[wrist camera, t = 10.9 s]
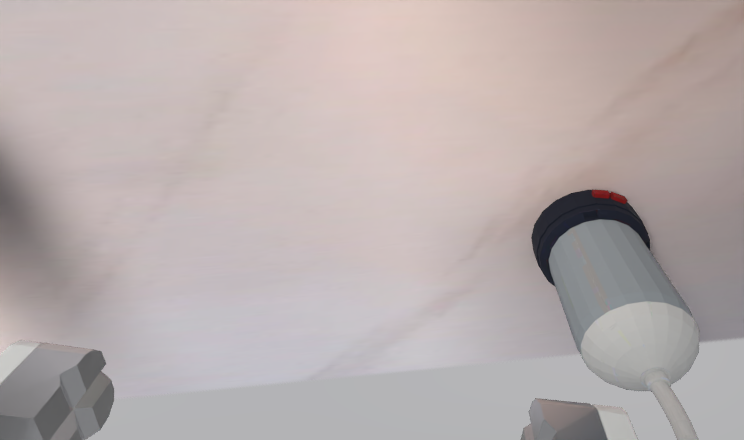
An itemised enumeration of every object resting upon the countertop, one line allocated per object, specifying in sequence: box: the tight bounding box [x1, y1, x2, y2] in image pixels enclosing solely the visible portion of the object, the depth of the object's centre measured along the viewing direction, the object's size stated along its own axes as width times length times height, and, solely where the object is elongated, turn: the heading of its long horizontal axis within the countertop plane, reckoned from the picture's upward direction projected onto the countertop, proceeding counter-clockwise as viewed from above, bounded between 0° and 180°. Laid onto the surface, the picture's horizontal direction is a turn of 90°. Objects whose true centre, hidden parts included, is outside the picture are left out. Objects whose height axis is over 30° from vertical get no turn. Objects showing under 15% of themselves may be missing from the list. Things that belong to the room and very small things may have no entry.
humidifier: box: [532, 190, 699, 440], centre depth 29 cm, size 8×8×25 cm
